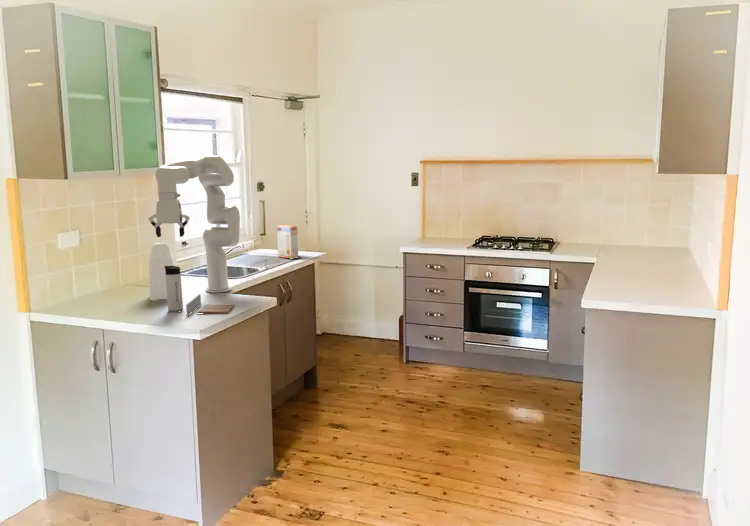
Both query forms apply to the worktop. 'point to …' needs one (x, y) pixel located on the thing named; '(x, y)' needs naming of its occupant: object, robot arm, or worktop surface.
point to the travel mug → (174, 288)
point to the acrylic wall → (193, 304)
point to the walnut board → (216, 309)
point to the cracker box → (287, 241)
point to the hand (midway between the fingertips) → (170, 236)
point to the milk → (159, 270)
